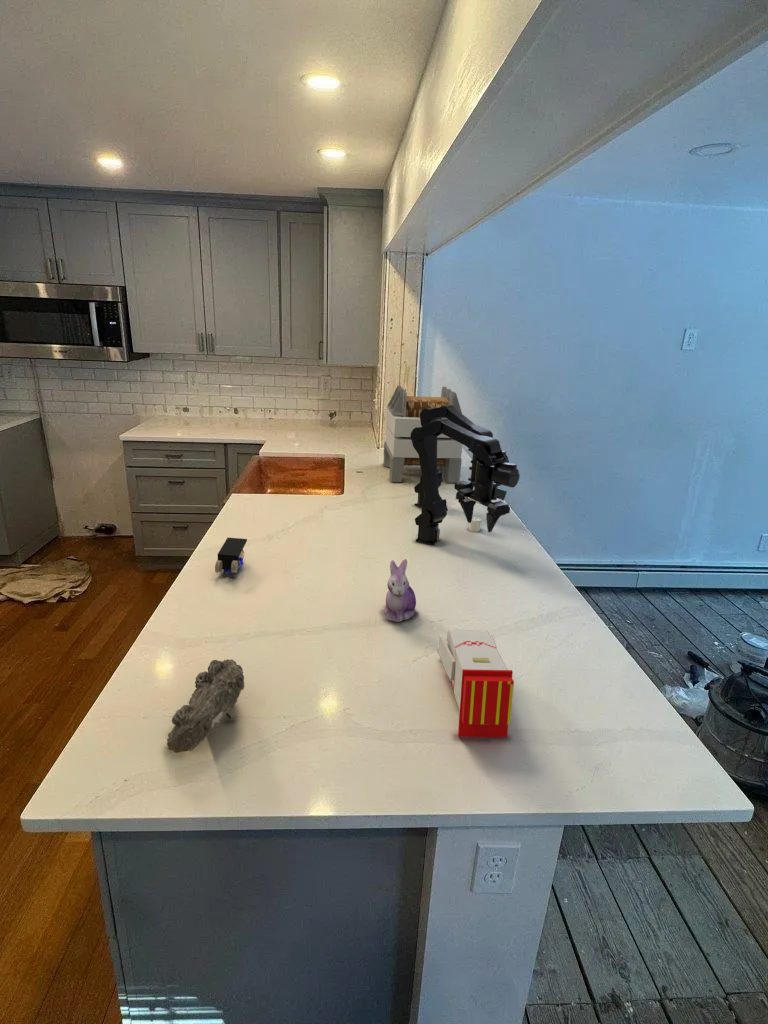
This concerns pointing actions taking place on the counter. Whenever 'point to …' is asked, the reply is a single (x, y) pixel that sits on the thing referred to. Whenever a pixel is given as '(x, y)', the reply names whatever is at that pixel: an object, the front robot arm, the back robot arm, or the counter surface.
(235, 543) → the black toy vehicle
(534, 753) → the counter surface
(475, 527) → the can
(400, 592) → the figurine
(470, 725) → the toy
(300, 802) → the counter surface
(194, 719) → the fossil
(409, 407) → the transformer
